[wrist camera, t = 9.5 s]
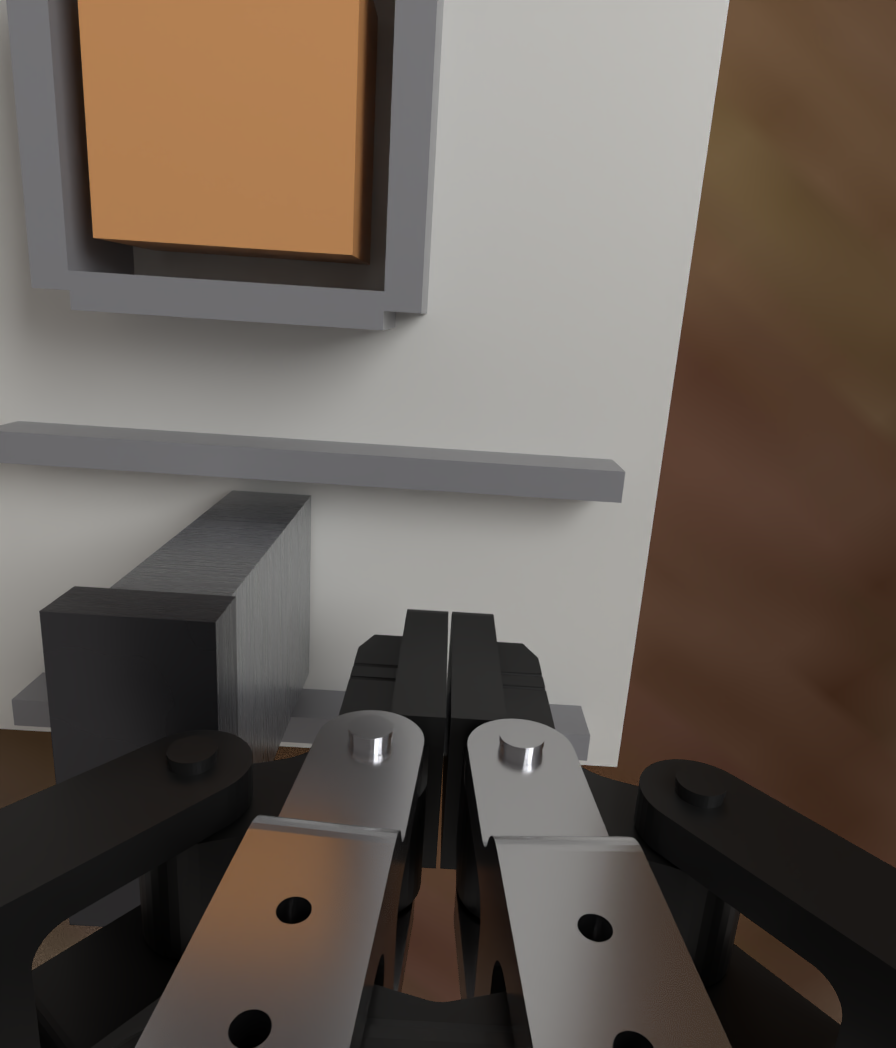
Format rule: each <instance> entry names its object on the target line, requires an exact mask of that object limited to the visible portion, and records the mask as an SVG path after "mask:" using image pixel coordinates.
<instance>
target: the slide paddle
mask: <svg viewBox="0 0 896 1048" xmlns="http://www.w3.org/2000/svg"><path fill="white" fill-rule="evenodd" d="M310 560H311V495H298V494H282V493H267V492H251V491H236V490H232V491H231V492H230V493H229V494H227V495H226V496H225V497H224V498H222V499H221V500H220V501H219V502H217V503H216V504H215V505H213V506H212V507H211V508H210V509H208V510H207V511H206V512H205V513H203V514H202V515H201V516H200V517H198V518H197V519H196V520H195V521H193V522H192V523H191V524H190V525H188V526H187V527H186V528H184V529H183V530H182V531H181V532H179V533H178V534H177V535H176V536H174V537H173V538H172V539H171V540H169V541H168V542H167V543H166V544H164V545H163V546H162V547H161V548H159V549H158V550H157V551H156V552H154V553H153V554H152V555H150V556H149V557H148V558H147V559H145V560H144V561H143V562H142V563H140V564H139V565H138V566H137V567H135V568H134V569H133V570H132V571H130V572H129V573H128V574H127V575H125V576H124V577H123V578H121V579H120V580H119V581H118V582H116V583H115V584H114V585H113V586H111V587H110V588H97V587H82V586H74V587H72V588H71V589H70V590H68V591H67V592H65V593H64V594H63V595H61V596H60V597H58V598H57V599H56V600H54V601H53V602H51V603H50V604H49V605H47V606H46V607H45V608H43V609H42V610H40V611H39V614H40V624H41V634H42V645H43V655H44V665H45V675H46V686H47V696H48V706H49V716H50V727H51V737H52V747H53V757H54V768H55V778H56V784H59V783H61V782H63V781H65V780H68V779H70V778H72V777H75V776H77V775H79V774H82V773H84V772H86V771H88V770H91V769H93V768H95V767H98V766H100V765H102V764H104V763H107V762H109V761H111V760H114V759H116V758H118V757H120V756H123V755H125V754H127V753H130V752H132V751H134V750H136V749H139V748H141V747H143V746H146V745H148V744H150V743H153V742H155V741H157V740H159V739H162V738H164V737H167V736H170V735H173V734H177V733H181V732H186V731H194V730H216V731H222V732H227V733H230V734H233V735H236V736H238V737H240V738H241V739H243V740H244V741H245V742H247V744H248V745H249V746H250V748H251V750H252V755H253V764H254V763H261V762H268V761H273V760H274V758H275V755H276V753H277V750H278V748H279V745H280V743H281V741H282V738H283V736H284V733H285V731H286V728H287V726H288V723H289V721H290V719H291V716H292V714H293V711H294V709H295V706H296V704H297V701H298V699H299V696H300V694H301V692H302V689H303V687H304V684H305V682H306V679H307V677H308V674H309V641H310ZM140 904H141V901H140V886H139V877H138V878H137V879H135V880H133V881H131V882H130V883H128V884H126V885H124V886H123V887H121V888H119V889H118V890H116V891H114V892H112V893H111V894H109V895H107V896H105V897H104V898H102V899H100V900H98V901H97V902H95V903H93V904H92V905H90V906H88V907H86V908H85V909H83V910H81V911H79V912H78V913H76V914H74V915H73V916H71V917H69V921H70V925H83V926H100V927H104V926H106V925H108V924H109V923H111V922H113V921H114V920H116V919H117V918H119V917H121V916H122V915H124V914H126V913H127V912H129V911H131V910H132V909H134V908H136V907H137V906H139V905H140Z"/></svg>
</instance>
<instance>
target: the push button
mask: <svg viewBox="0 0 896 1048" xmlns="http://www.w3.org/2000/svg"><path fill="white" fill-rule="evenodd" d="M78 13H79V29H80V44H81V59H82V74H83V90H84V105H85V120H86V135H87V150H88V166H89V181H90V196H91V211H92V227H93V238H97V239H101V240H106V241H111V242H116V243H121V244H126V245H130V246H135V247H140V248H145V249H150V250H155V251H170V252H185V253H200V254H215V255H230V256H245V257H260V258H275V259H290V260H305V261H320V262H335V263H350V264H365V265H370V249H371V218H372V187H373V156H374V125H375V94H376V63H377V32H378V16H377V12H376V8H375V4H374V1H373V0H78Z"/></svg>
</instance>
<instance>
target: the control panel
mask: <svg viewBox="0 0 896 1048" xmlns="http://www.w3.org/2000/svg"><path fill="white" fill-rule="evenodd" d="M373 1H374V4H375V8H376V12H377V16H378V32H377V63H376V94H375V125H374V156H373V187H372V218H371V249H370V265H365V264H350V263H335V262H320V261H305V260H290V259H275V258H260V257H245V256H230V255H215V254H200V253H185V252H170V251H155V250H150V249H145V248H140V247H135V246H130V245H126V244H121V243H116V242H111V241H106V240H101V239H97V238H93V227H92V211H91V196H90V181H89V166H88V150H87V135H86V120H85V105H84V90H83V74H82V59H81V44H80V29H79V13H78V0H0V729H13V730H29V731H45V732H51V727H50V716H49V706H48V696H47V686H46V675H45V665H44V655H43V645H42V634H41V624H40V614H39V611H40V610H42V609H43V608H45V607H46V606H47V605H49V604H50V603H51V602H53V601H54V600H56V599H57V598H58V597H60V596H61V595H63V594H64V593H65V592H67V591H68V590H70V589H71V588H72V587H74V586H82V587H97V588H110V587H111V586H113V585H114V584H115V583H116V582H118V581H119V580H120V579H121V578H123V577H124V576H125V575H127V574H128V573H129V572H130V571H132V570H133V569H134V568H135V567H137V566H138V565H139V564H140V563H142V562H143V561H144V560H145V559H147V558H148V557H149V556H150V555H152V554H153V553H154V552H156V551H157V550H158V549H159V548H161V547H162V546H163V545H164V544H166V543H167V542H168V541H169V540H171V539H172V538H173V537H174V536H176V535H177V534H178V533H179V532H181V531H182V530H183V529H184V528H186V527H187V526H188V525H190V524H191V523H192V522H193V521H195V520H196V519H197V518H198V517H200V516H201V515H202V514H203V513H205V512H206V511H207V510H208V509H210V508H211V507H212V506H213V505H215V504H216V503H217V502H219V501H220V500H221V499H222V498H224V497H225V496H226V495H227V494H229V493H230V492H231V491H232V490H236V491H251V492H267V493H282V494H298V495H311V560H310V641H309V674H308V677H307V679H306V682H305V684H304V687H303V689H302V692H301V694H300V696H299V699H298V701H297V704H296V706H295V709H294V711H293V714H292V716H291V719H290V721H289V723H288V726H287V728H286V731H285V733H284V736H283V738H282V741H281V743H280V745H279V746H287V747H303V748H311V746H312V744H313V742H314V740H315V738H316V735H317V733H318V732H319V730H320V728H321V727H322V726H323V725H324V724H325V723H327V722H328V721H330V720H331V719H333V718H335V717H337V716H339V712H340V709H341V706H342V702H343V699H344V695H345V692H346V688H347V685H348V681H349V679H350V675H351V671H352V668H353V666H354V661H355V657H356V654H357V651H358V647H359V646H361V645H362V644H363V643H364V642H366V641H367V640H368V639H369V638H371V637H372V636H373V635H392V636H403V631H404V625H405V619H406V613H407V609H418V610H434V611H448V653H447V673H448V659H449V644H450V629H451V616H452V612H468V613H485V614H493V615H494V622H495V630H496V638H497V642H508V643H523V644H524V645H525V646H526V647H527V648H528V649H529V650H530V651H531V652H532V653H534V654H535V655H536V656H537V657H538V659H539V663H540V667H541V672H542V677H543V680H544V684H545V691H546V692H547V697H548V701H549V705H550V709H551V713H552V717H553V722H554V726H555V730H557V731H558V732H560V733H561V734H562V735H564V736H565V737H566V738H567V739H568V740H569V741H570V743H571V744H572V746H573V748H574V750H575V753H576V755H577V758H578V760H579V763H580V765H594V766H611V767H617V763H618V757H619V750H620V743H621V736H622V729H623V722H624V716H625V709H626V702H627V695H628V688H629V682H630V675H631V668H632V661H633V654H634V647H635V641H636V634H637V627H638V620H639V613H640V606H641V600H642V593H643V586H644V579H645V572H646V565H647V559H648V552H649V545H650V538H651V531H652V524H653V518H654V511H655V504H656V497H657V490H658V484H659V477H660V470H661V463H662V456H663V449H664V443H665V436H666V429H667V422H668V415H669V408H670V402H671V395H672V388H673V381H674V374H675V367H676V361H677V354H678V347H679V340H680V333H681V326H682V320H683V313H684V306H685V299H686V292H687V286H688V279H689V272H690V265H691V258H692V251H693V245H694V238H695V231H696V224H697V217H698V210H699V204H700V197H701V190H702V183H703V176H704V169H705V163H706V156H707V149H708V142H709V135H710V128H711V122H712V115H713V108H714V101H715V94H716V88H717V81H718V74H719V67H720V60H721V53H722V47H723V40H724V33H725V26H726V19H727V12H728V6H729V0H373ZM443 754H444V753H443Z"/></svg>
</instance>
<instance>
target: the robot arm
mask: <svg viewBox="0 0 896 1048" xmlns="http://www.w3.org/2000/svg"><path fill="white" fill-rule="evenodd" d="M447 653H448V611H434V610H418V609H407V613H406V619H405V625H404V631H403V636H392V635H373V636H372V637H371V638H369V639H368V640H367V641H366V642H364V643H363V644H362V645H361V646H359V647H358V651H357V654H356V657H355V661H354V666H353V668H352V671H351V675H350V679H349V681H348V685H347V688H346V692H345V695H344V699H343V702H342V706H341V709H340V712H339V716H337V717H335V718H333V719H331V720H330V721H328V722H327V723H325V724H324V725H323V726H322V727H321V728H320V730H319V732H318V733H317V735H316V738H315V740H314V742H313V744H312V746H311V748H310V750H309V752H307V753H304V754H302V755H299V756H295V757H292V758H287V759H281V760H275V761H268V762H261V763H254V764H253V755H252V750H251V748H250V746H249V745H248V744H247V742H245V741H244V740H243V739H241V738H240V737H238V736H236V735H233V734H230V733H227V732H222V731H216V730H194V731H186V732H181V733H177V734H173V735H170V736H167V737H164V738H162V739H159V740H157V741H155V742H153V743H150V744H148V745H146V746H143V747H141V748H139V749H136V750H134V751H132V752H130V753H127V754H125V755H123V756H120V757H118V758H116V759H114V760H111V761H109V762H107V763H104V764H102V765H100V766H98V767H95V768H93V769H91V770H88V771H86V772H84V773H82V774H79V775H77V776H75V777H72V778H70V779H68V780H65V781H63V782H61V783H59V784H56V785H54V786H52V787H49V788H47V789H45V790H43V791H40V792H38V793H36V794H33V795H31V796H29V797H27V798H24V799H22V800H20V801H17V802H15V803H13V804H10V805H8V806H6V807H4V808H1V809H0V1048H896V868H894V867H893V866H891V865H889V864H887V863H886V862H884V861H882V860H880V859H879V858H877V857H875V856H873V855H872V854H870V853H868V852H866V851H865V850H863V849H861V848H859V847H858V846H856V845H854V844H852V843H851V842H849V841H847V840H845V839H844V838H842V837H840V836H838V835H837V834H835V833H833V832H831V831H830V830H828V829H826V828H824V827H823V826H821V825H819V824H817V823H816V822H814V821H812V820H810V819H809V818H807V817H805V816H803V815H801V814H800V813H798V812H796V811H794V810H793V809H791V808H789V807H787V806H786V805H784V804H782V803H780V802H779V801H777V800H775V799H773V798H772V797H770V796H768V795H766V794H765V793H763V792H761V791H759V790H758V789H756V788H754V787H752V786H751V785H749V784H747V783H745V782H744V781H742V780H740V779H738V778H737V777H735V776H733V775H731V774H729V773H727V772H726V771H724V770H721V769H719V768H716V767H714V766H711V765H708V764H705V763H701V762H696V761H690V760H678V759H673V760H664V761H659V762H656V763H654V764H651V765H650V766H648V767H647V768H646V769H645V770H644V771H643V772H642V774H641V776H640V781H639V786H635V785H631V784H627V783H623V782H620V781H616V780H612V779H609V778H605V777H602V776H600V775H597V774H595V773H592V772H590V771H588V770H586V769H584V768H582V767H581V765H580V763H579V760H578V758H577V755H576V753H575V750H574V748H573V746H572V744H571V743H570V741H569V740H568V739H567V738H566V737H565V736H564V735H562V734H561V733H560V732H558V731H557V730H555V726H554V722H553V717H552V713H551V709H550V705H549V701H548V697H547V692H546V691H545V684H544V680H543V677H542V672H541V667H540V663H539V659H538V657H537V656H536V655H535V654H534V653H532V652H531V651H530V650H529V649H528V648H527V647H526V646H525V645H524V644H523V643H508V642H497V638H496V630H495V622H494V615H493V614H485V613H468V612H452V616H451V629H450V644H449V659H448V673H447ZM443 753H444V754H443ZM442 768H443V790H442V827H441V864H440V868H442V869H456V894H455V907H454V930H455V941H456V952H457V963H458V974H459V985H460V996H461V1000H456V1001H451V1002H433V1001H428V1000H425V999H421V998H418V997H415V996H412V995H408V994H405V993H402V992H401V991H402V985H403V979H404V973H405V967H406V961H407V955H408V949H409V943H410V937H411V930H412V924H413V917H414V901H415V897H416V896H417V894H418V892H419V889H420V884H421V872H422V868H436V855H437V840H438V826H439V811H440V797H441V782H442ZM138 877H139V886H140V901H141V904H140V905H139V906H137V907H136V908H134V909H132V910H131V911H129V912H127V913H126V914H124V915H122V916H121V917H119V918H117V919H116V920H114V921H113V922H111V923H109V924H108V925H106V926H104V927H103V928H101V929H99V930H98V931H96V932H94V933H93V934H91V935H90V936H88V937H86V938H85V939H83V940H81V941H80V942H78V943H76V944H75V945H73V946H71V947H70V948H68V949H67V950H65V951H63V952H62V953H60V954H58V955H57V956H55V957H53V958H52V959H50V960H49V961H47V962H45V963H44V964H42V965H40V966H39V967H37V968H35V969H34V970H32V962H33V958H34V956H35V953H36V951H37V949H38V947H39V946H40V944H41V943H42V941H43V940H44V939H45V938H46V936H47V935H48V934H49V933H50V932H51V931H52V930H53V929H54V928H55V927H56V926H58V925H59V924H60V923H61V922H63V921H64V920H66V919H67V918H69V917H71V916H73V915H74V914H76V913H78V912H79V911H81V910H83V909H85V908H86V907H88V906H90V905H92V904H93V903H95V902H97V901H98V900H100V899H102V898H104V897H105V896H107V895H109V894H111V893H112V892H114V891H116V890H118V889H119V888H121V887H123V886H124V885H126V884H128V883H130V882H131V881H133V880H135V879H137V878H138ZM740 913H742V914H743V915H744V916H746V917H747V918H749V919H750V920H751V921H753V922H754V923H755V924H757V925H758V926H760V927H761V928H762V929H764V930H765V931H767V932H768V933H769V934H771V935H772V936H774V937H775V938H776V939H778V940H779V941H780V942H782V943H783V944H785V945H786V946H787V947H789V948H790V949H792V950H793V951H794V952H796V953H797V954H798V955H800V956H801V957H803V958H804V959H805V960H807V961H808V962H810V963H811V964H812V965H813V966H815V967H816V968H817V969H818V970H819V971H820V972H821V973H822V974H823V975H824V976H825V977H826V978H827V979H828V981H829V982H830V983H831V985H832V986H833V988H834V990H835V991H836V993H837V995H838V998H839V1000H840V1003H841V1007H842V1023H841V1025H840V1024H838V1023H837V1022H836V1021H834V1020H833V1019H832V1018H831V1017H829V1016H828V1015H827V1014H825V1013H824V1012H823V1011H821V1010H820V1009H819V1008H817V1007H816V1006H815V1005H813V1004H812V1003H811V1002H810V1001H808V1000H807V999H806V998H804V997H803V996H802V995H800V994H799V993H798V992H796V991H795V990H794V989H792V988H791V987H790V986H789V985H787V984H786V983H785V982H783V981H782V980H781V979H779V978H778V977H777V976H775V975H774V974H773V973H771V972H770V971H769V970H768V969H766V968H765V967H764V966H762V965H761V964H760V963H758V962H757V961H756V960H754V959H753V958H752V957H750V956H749V955H748V954H747V953H745V952H744V951H743V950H741V949H740V948H739V947H737V946H736V945H735V944H733V943H734V939H735V934H736V929H737V925H738V920H739V915H740Z"/></svg>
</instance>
